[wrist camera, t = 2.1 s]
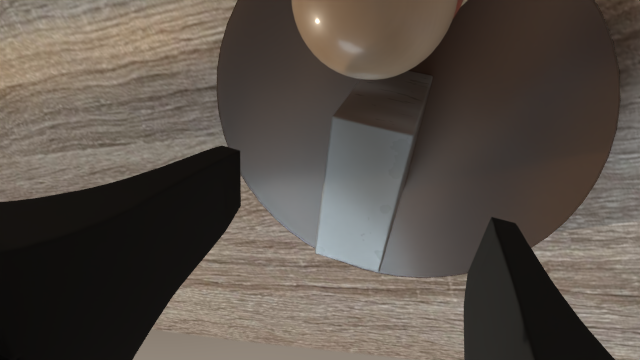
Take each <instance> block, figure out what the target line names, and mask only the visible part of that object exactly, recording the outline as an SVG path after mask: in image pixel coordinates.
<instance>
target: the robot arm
mask: <svg viewBox="0 0 640 360" xmlns="http://www.w3.org/2000/svg"><path fill="white" fill-rule="evenodd" d="M240 206H241V196H240V150H236V149H232V148H229V147H225V146H219V147H215V148H212V149H209V150H206V151H203V152H201V153H198V154H195V155H193V156H190V157H187V158H185V159H182V160H179V161H176V162H174V163H171V164H168V165H166V166H163V167H160V168H157V169H154V170H151V171H148V172H145V173H142V174H139V175H136V176H133V177H130V178H127V179H123V180H120V181H116V182H113V183H109V184H105V185H101V186H97V187H93V188H89V189H84V190H80V191H74V192H69V193H63V194H57V195H52V196H46V197H40V198H33V199H26V200H18V201H9V202H0V360H132V359H133V358H134V356H135V354H136V352H137V351H138V349H139V348H140V346H141V345H142V343H143V341H144V340H145V338H146V337H147V335H148V333H149V331H150V330H151V328H152V327H153V325H154V324H155V322H156V321H157V319H158V318H159V316H160V315H161V313H162V312H163V310H164V309H165V307H166V306H167V304H168V302H169V301H170V299H171V298H172V297H173V295H174V294H175V293H176V291H177V290H178V289H179V287H180V286H181V285H182V283H183V282H184V281H185V280H186V279H187V277H188V276H189V275H190V274H191V273H192V271H193V270H194V269H195V268H196V267H197V265H198V264H199V263H200V262H201V261H202V259H203V258H204V257H205V256H206V255H207V253H208V252H209V251H210V250H211V248H212V247H213V246H214V245H215V244H216V242H217V241H218V240H219V239H220V237H221V236H222V235H223V234H224V232H225V231H226V229H227V228H228V226H229V224H230V223H231V221H232V220H233V218H234V216H235V214H236V213H237V211H238V209H239V208H240ZM464 358H465V360H615V359H614V358H613V357H612V356H611V355H610V354H609V353H608V351H607V350H606V349H605V348H604V347H603V346H602V345H601V343H600V342H599V341H598V340H597V339H596V338H595V337H594V335H593V334H592V333H591V332H590V331H589V330H588V328H587V327H586V326H585V325H584V324H583V322H582V321H581V320H580V319H579V317H578V316H577V315H576V313H575V312H574V311H573V309H572V308H571V307H570V305H569V304H568V303H567V301H566V300H565V299H564V297H563V296H562V295H561V293H560V292H559V290H558V289H557V288H556V286H555V285H554V283H553V282H552V280H551V279H550V277H549V276H548V274H547V273H546V271H545V270H544V268H543V267H542V265H541V264H540V262H539V260H538V259H537V257H536V256H535V254H534V252H533V251H532V249H531V247H530V246H529V244H528V242H527V241H526V239H525V237H524V236H523V234H522V232H521V231H520V229H519V227H518V226H517V224H516V223H513V222H509V221H506V220H502V219H498V218H494V217H491V219H490V221H489V223H488V226H487V228H486V231H485V233H484V235H483V238H482V240H481V242H480V245H479V247H478V250H477V252H476V254H475V257H474V259H473V261H472V264H471V266H470V269H469V271H468V275H467V283H466V291H465V300H464Z"/></svg>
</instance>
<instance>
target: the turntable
mask: <svg viewBox="0 0 640 360" xmlns="http://www.w3.org/2000/svg"><path fill="white" fill-rule="evenodd" d="M217 99H218V109H219V116H220V120H221V125H222V129H223V133H224V136H225V139H226V142H227V145H228V147H229V148H232V149H236V150H240V174H241V175H242V177H243V179H244V180H245V182H246V184H247V185H248V187H249V188H250V190H251V191H252V192H253V194H254V195H255V196H256V198H257V199H258V200H259V202H260V203H261V204H262V205H263V206H264V207H265V208H266V209H267V211H268V212H269V213H270V214H271V215H272V216H273V217H274V218H275V219H276V220H277V221H278V222H279V223H281V224H282V225H283V226H284V227H285V228H286V229H287V230H289V231H290V232H291V233H292V234H294V235H295V236H297V237H298V238H299V239H301V240H302V241H303V242H305V243H306V244H308V245H310V246H312V247H313V248H315V253H316V254H319V255H322V256H325V257H329V258H332V259H335V260H338V261H341V262H344V263H346V264H349V265H352V266H355V267H357V268H360V269H364V270H368V271H372V272H376V273H380V274H387V275H393V276H399V277H414V278H431V277H446V276H453V275H460V274H466V273H468V271H469V269H470V266H471V264H472V261H473V259H474V257H475V254H476V252H477V250H478V247H479V245H480V242H481V240H482V238H483V235H484V233H485V231H486V228H487V226H488V223H489V221H490V219H491V217H494V218H498V219H502V220H506V221H509V222H513V223H516V224H517V226H518V227H519V229H520V231H521V232H522V234H523V236H524V237H525V239H526V241H527V242H528V244H529V246H530V247H531V248H532V247H533V246H535V245H536V244H538V243H539V242H541V241H542V240H544V239H545V238H547V237H548V236H549V235H550V234H552V233H553V232H554V231H555V230H556V229H557V228H559V227H560V226H561V225H562V224H563V223H564V222H566V221H567V219H568V218H569V217H570V216H571V215H572V214H573V213H574V212H575V210H576V209H577V208H578V207H579V206H580V205H581V204H582V203H583V201H584V200H585V198H586V197H587V195H588V194H589V192H590V191H591V189H592V188H593V186H594V185H595V183H596V182H597V180H598V178H599V176H600V174H601V172H602V169H603V167H604V165H605V163H606V161H607V159H608V157H609V154H610V151H611V147H612V144H613V140H614V137H615V134H616V130H617V124H618V116H619V108H620V76H619V67H618V62H617V58H616V53H615V48H614V43H613V40H612V37H611V35H610V32H609V30H608V27H607V25H606V22H605V19H604V17H603V14H602V12H601V10H600V8H599V7H598V5H597V4H596V2H595V0H238V1H237V3H236V5H235V7H234V10H233V12H232V14H231V16H230V19H229V21H228V23H227V27H226V30H225V33H224V37H223V40H222V44H221V48H220V54H219V61H218V67H217Z"/></svg>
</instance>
